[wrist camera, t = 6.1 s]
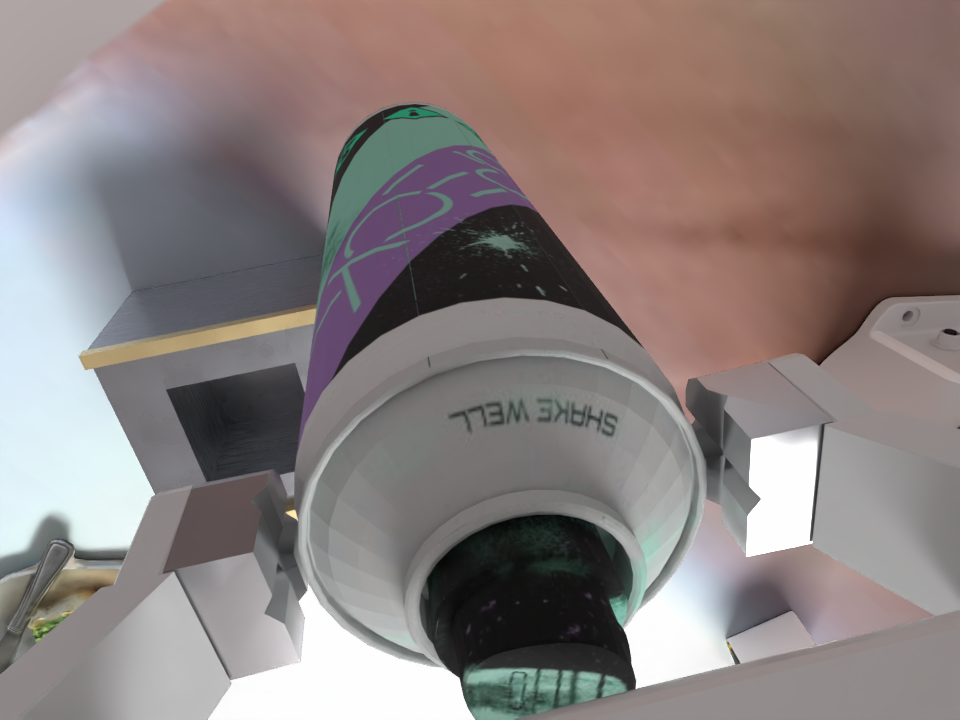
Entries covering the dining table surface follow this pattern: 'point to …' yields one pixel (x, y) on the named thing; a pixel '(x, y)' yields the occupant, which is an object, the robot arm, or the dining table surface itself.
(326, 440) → the spray can
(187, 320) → the socket block
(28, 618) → the salad plate
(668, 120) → the dining table surface
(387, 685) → the dining table surface
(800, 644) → the medicine bottle
